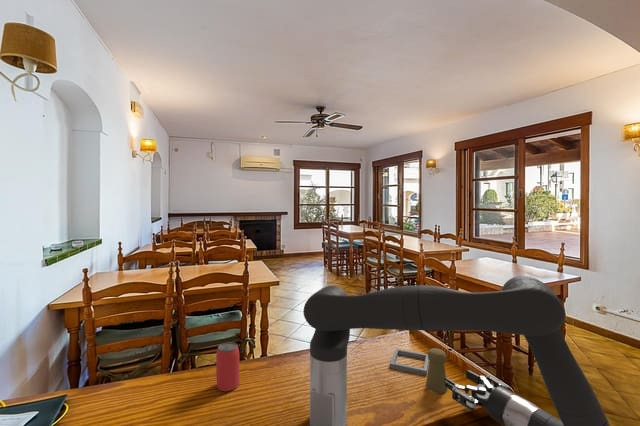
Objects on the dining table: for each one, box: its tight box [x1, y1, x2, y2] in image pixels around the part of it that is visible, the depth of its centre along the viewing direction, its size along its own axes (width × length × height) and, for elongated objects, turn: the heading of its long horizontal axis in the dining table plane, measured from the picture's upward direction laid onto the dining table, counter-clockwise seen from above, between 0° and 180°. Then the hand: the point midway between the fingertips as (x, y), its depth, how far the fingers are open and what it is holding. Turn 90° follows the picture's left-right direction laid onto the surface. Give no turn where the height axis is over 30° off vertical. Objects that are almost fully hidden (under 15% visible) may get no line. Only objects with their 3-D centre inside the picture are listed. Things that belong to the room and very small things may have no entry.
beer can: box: [215, 341, 240, 392], centre depth 93 cm, size 7×7×12 cm
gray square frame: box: [389, 348, 430, 376], centre depth 106 cm, size 12×12×2 cm
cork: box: [425, 347, 449, 394], centre depth 92 cm, size 6×6×11 cm
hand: (456, 377), depth 86 cm, fingers open, 8 cm apart
